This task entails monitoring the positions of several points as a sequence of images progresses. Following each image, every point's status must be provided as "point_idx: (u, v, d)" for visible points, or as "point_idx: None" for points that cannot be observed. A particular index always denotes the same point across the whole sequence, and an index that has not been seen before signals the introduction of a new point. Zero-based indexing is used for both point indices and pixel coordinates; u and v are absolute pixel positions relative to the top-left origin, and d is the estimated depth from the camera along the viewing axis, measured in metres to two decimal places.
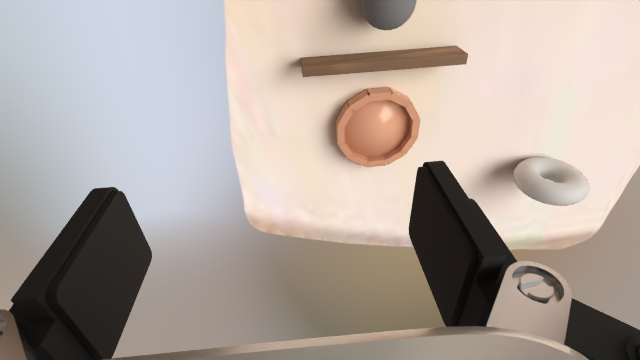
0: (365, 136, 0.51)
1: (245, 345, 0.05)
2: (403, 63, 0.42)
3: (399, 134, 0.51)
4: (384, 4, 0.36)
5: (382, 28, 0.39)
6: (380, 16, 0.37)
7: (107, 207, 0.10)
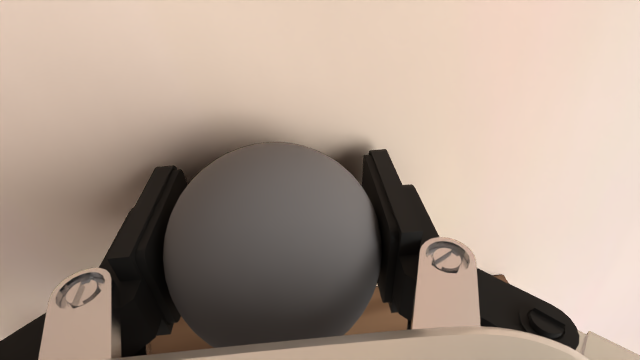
0: None
1: (245, 345, 0.05)
2: None
3: None
4: (227, 340, 0.08)
5: None
6: None
7: (172, 183, 0.10)
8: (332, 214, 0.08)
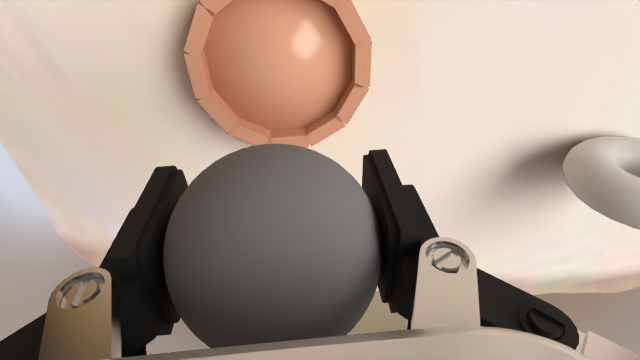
0: (260, 84, 0.24)
1: (245, 345, 0.05)
2: None
3: (331, 81, 0.24)
4: (228, 343, 0.08)
5: None
6: None
7: (173, 183, 0.10)
8: (332, 216, 0.08)
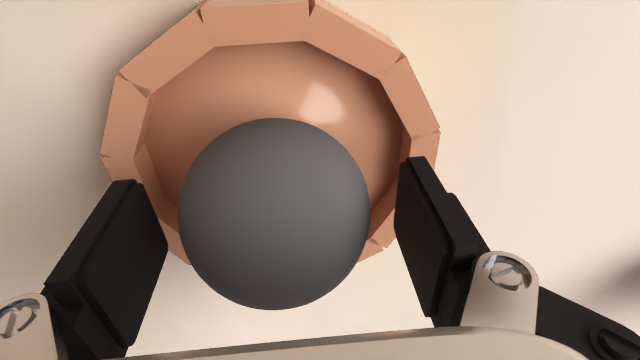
0: None
1: (245, 345, 0.05)
2: None
3: None
4: (234, 284, 0.09)
5: None
6: (231, 300, 0.10)
7: (129, 198, 0.10)
8: (325, 175, 0.09)
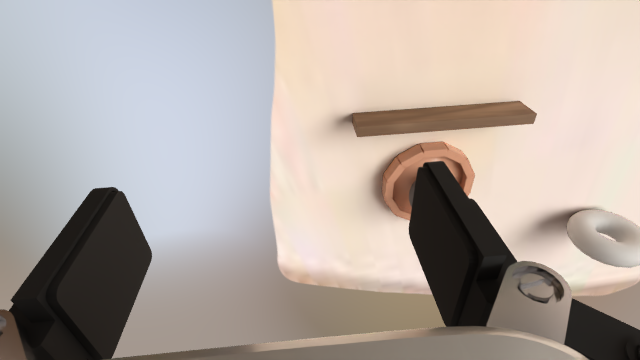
0: None
1: (245, 345, 0.05)
2: (466, 123, 0.39)
3: None
4: None
5: None
6: None
7: (107, 207, 0.10)
8: None
